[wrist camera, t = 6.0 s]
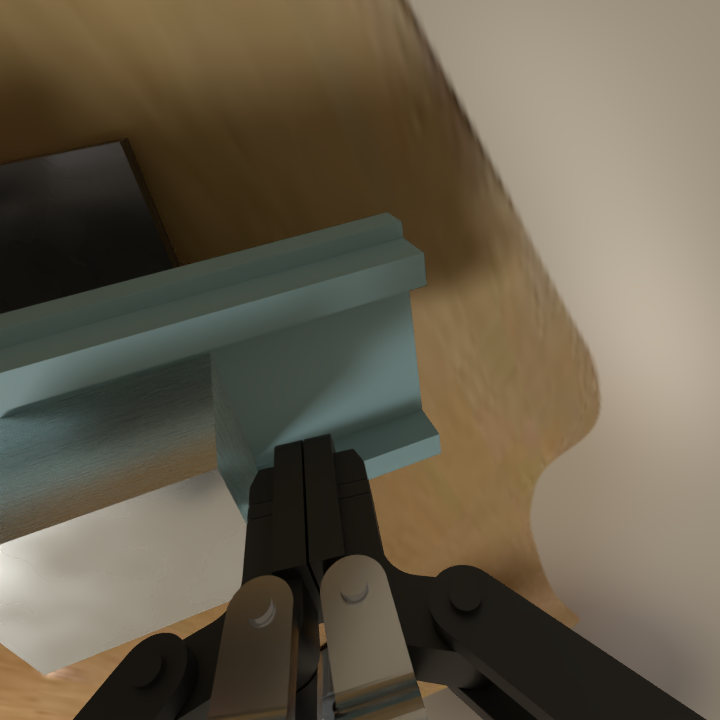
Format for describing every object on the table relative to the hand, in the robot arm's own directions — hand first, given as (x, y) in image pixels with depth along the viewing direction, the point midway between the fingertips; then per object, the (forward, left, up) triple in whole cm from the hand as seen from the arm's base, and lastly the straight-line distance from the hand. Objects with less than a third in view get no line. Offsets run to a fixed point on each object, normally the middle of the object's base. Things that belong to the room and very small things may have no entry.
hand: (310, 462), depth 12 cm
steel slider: (0, -5, -3) cm, 6 cm away
